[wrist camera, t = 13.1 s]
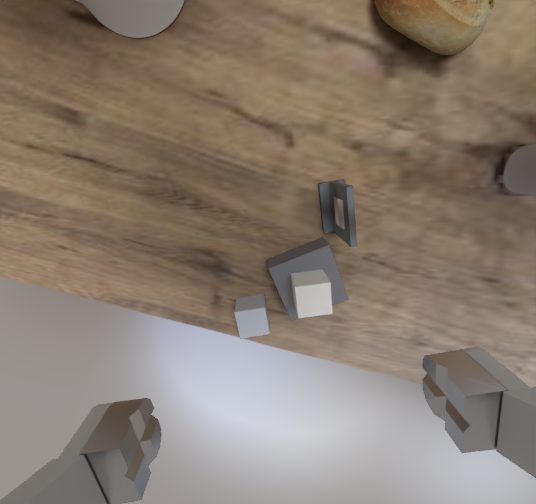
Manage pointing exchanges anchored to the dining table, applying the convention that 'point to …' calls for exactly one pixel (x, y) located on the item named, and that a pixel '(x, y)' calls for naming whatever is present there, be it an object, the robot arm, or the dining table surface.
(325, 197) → the standing grey panel
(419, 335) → the dining table surface
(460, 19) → the bread roll
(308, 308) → the ivory cube
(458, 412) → the robot arm
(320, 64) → the dining table surface
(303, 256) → the base block
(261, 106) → the dining table surface
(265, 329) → the grey blue cube
